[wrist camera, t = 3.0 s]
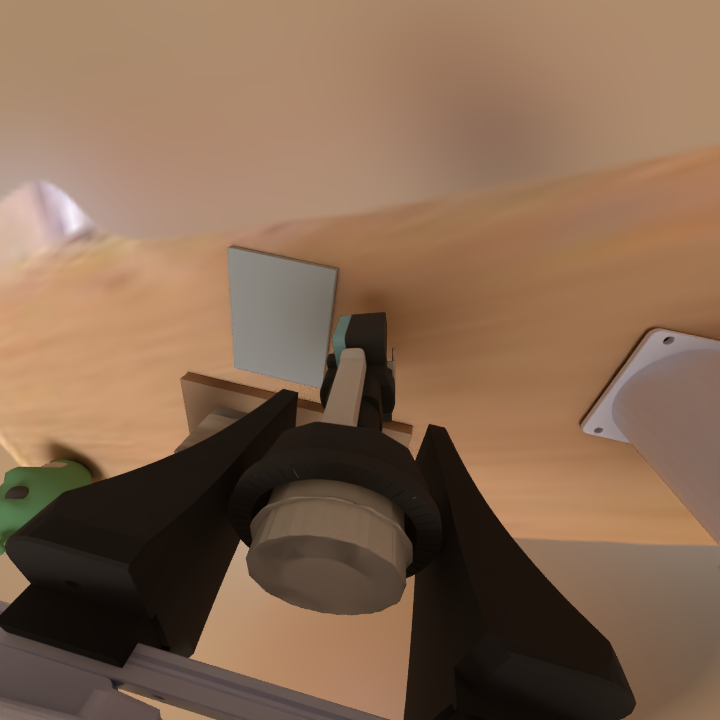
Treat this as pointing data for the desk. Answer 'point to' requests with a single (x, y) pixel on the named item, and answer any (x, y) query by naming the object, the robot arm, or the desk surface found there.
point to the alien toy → (35, 492)
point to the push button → (340, 492)
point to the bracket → (245, 409)
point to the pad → (281, 315)
